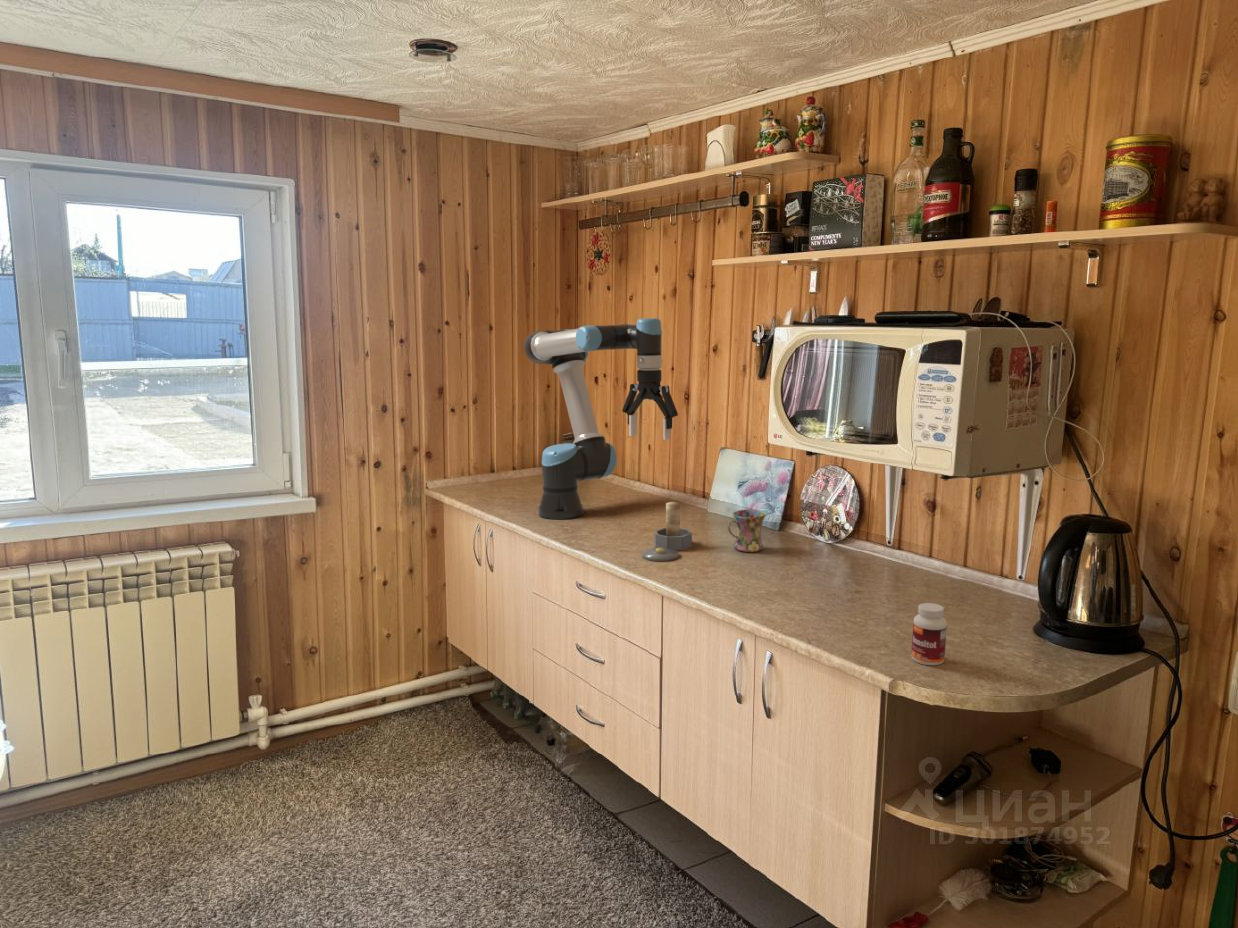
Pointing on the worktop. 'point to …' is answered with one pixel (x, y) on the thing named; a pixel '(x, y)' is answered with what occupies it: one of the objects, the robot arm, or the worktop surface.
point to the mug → (748, 530)
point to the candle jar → (673, 539)
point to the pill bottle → (929, 635)
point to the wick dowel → (672, 519)
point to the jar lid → (660, 554)
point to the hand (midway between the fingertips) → (649, 437)
